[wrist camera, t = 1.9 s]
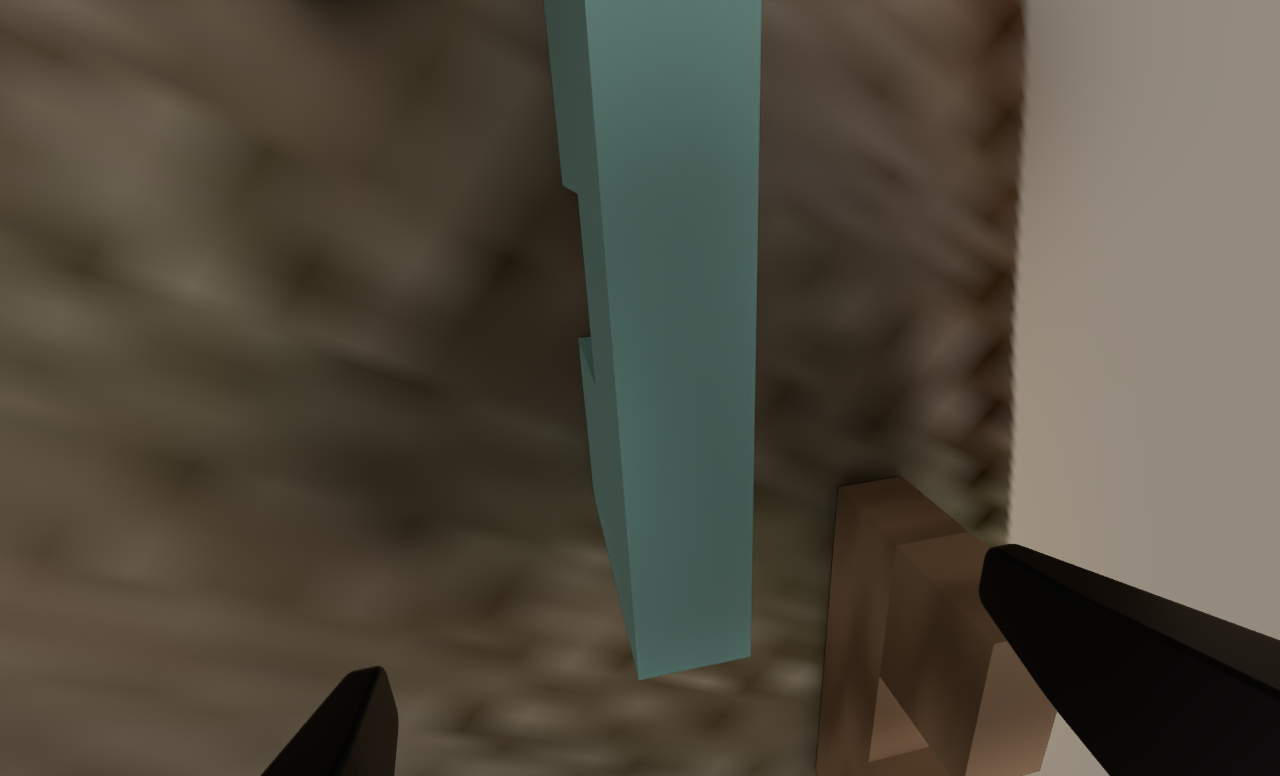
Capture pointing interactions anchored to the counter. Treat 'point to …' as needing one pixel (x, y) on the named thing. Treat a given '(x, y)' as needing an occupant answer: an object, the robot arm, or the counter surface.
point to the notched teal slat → (668, 304)
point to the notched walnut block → (919, 650)
